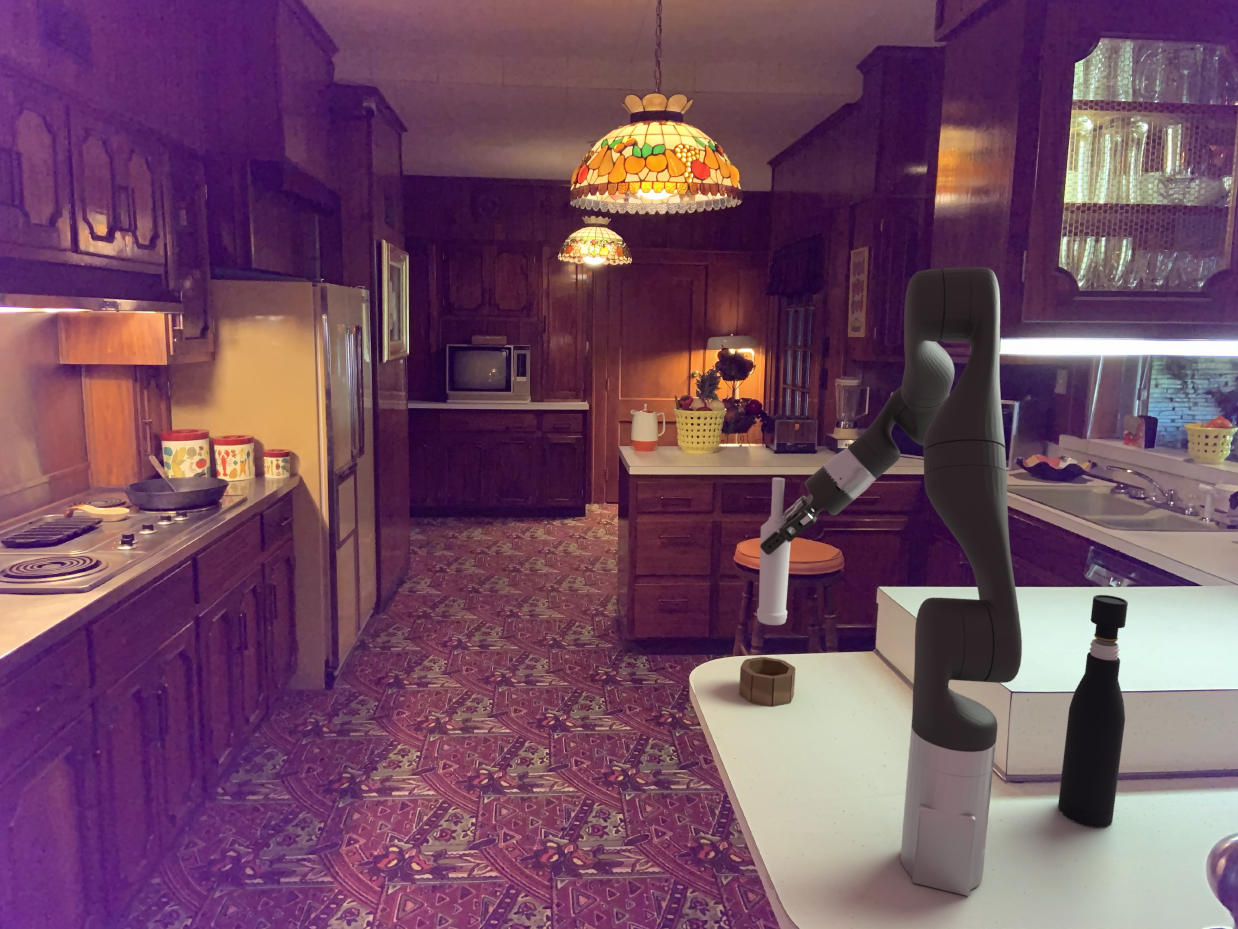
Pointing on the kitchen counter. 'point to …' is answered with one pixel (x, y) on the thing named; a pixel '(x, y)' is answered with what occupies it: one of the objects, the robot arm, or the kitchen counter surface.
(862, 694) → the kitchen counter surface
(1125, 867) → the kitchen counter surface
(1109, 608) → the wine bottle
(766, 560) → the bottle
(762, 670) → the wooden cup
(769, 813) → the kitchen counter surface
